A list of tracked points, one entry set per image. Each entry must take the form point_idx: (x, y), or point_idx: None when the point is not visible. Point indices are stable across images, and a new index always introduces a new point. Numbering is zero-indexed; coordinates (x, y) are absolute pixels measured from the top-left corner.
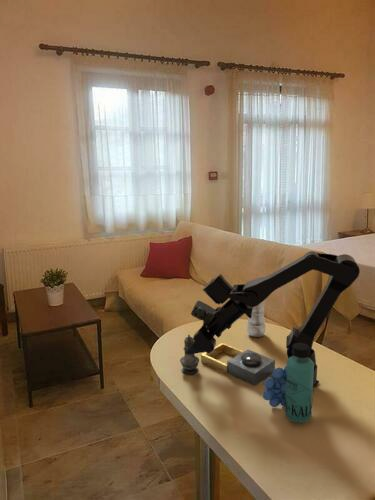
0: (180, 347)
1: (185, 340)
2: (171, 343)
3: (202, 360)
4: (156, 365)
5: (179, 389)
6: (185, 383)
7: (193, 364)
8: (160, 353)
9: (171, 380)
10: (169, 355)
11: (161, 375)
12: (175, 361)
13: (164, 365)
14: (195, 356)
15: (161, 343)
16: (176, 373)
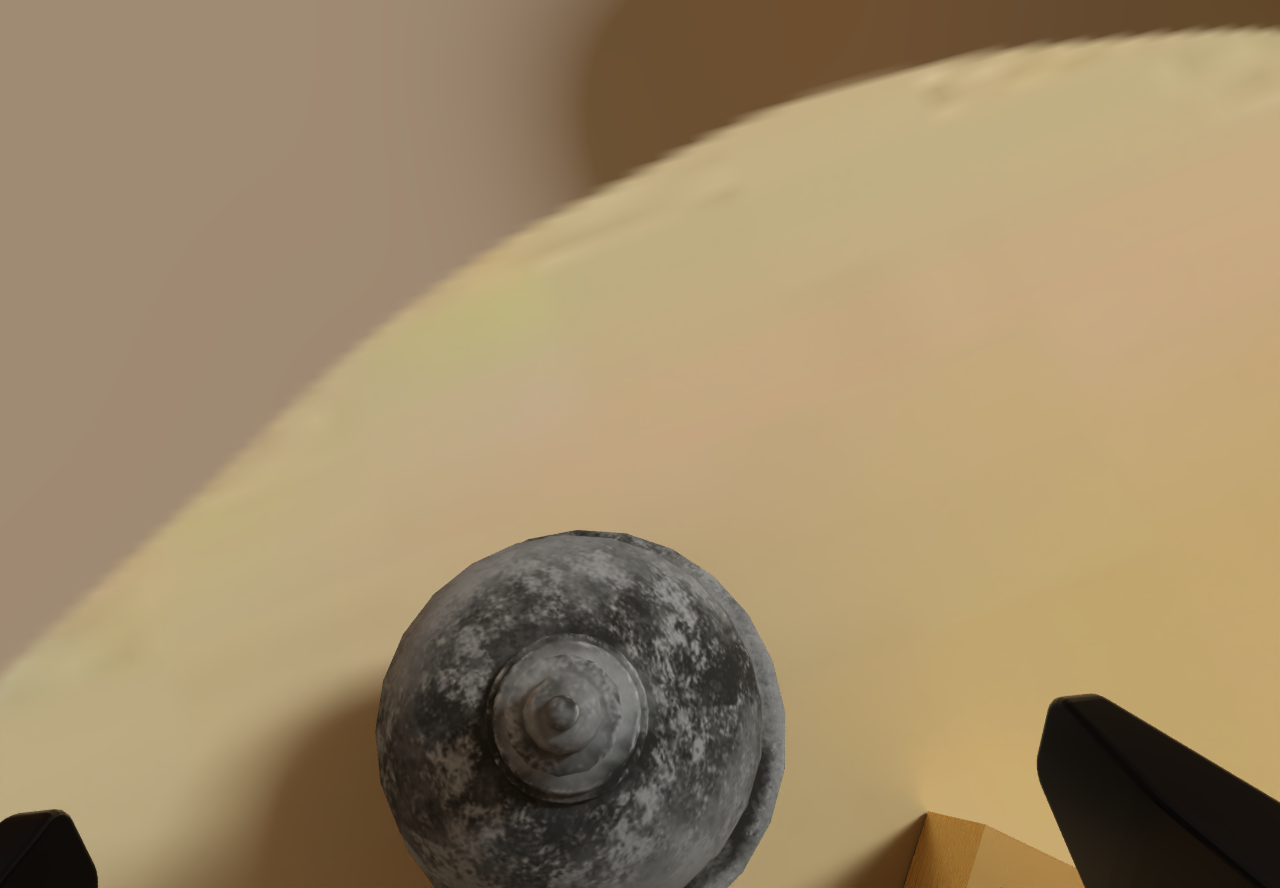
0: (1184, 332)
1: (421, 614)
2: (1223, 176)
3: (928, 851)
4: (583, 208)
5: (18, 764)
6: (203, 796)
7: (433, 876)
8: (899, 142)
9: (249, 548)
10: (899, 269)
11: (350, 364)
12: (775, 409)
13: (617, 305)
14: (756, 799)
15: (1153, 59)
16: (454, 547)
